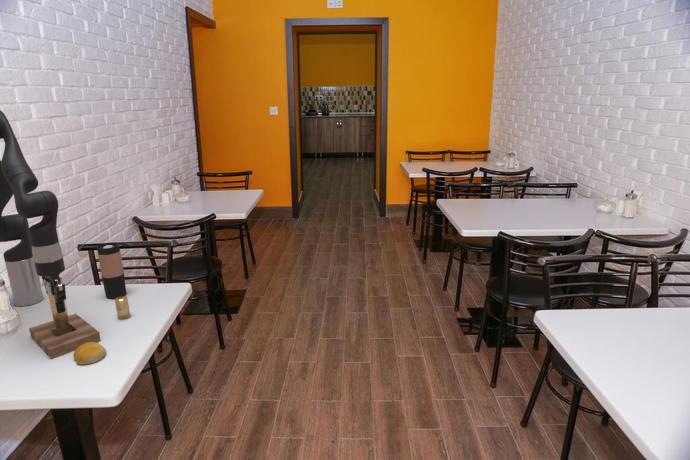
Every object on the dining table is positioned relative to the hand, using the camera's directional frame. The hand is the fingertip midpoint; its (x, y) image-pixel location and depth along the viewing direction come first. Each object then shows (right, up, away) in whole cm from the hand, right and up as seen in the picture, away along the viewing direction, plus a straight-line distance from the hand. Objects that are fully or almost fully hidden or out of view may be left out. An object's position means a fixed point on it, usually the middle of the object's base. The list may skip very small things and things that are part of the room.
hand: (59, 309), depth 153 cm
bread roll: (+14, -13, -8) cm, 20 cm away
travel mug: (+2, 0, +35) cm, 35 cm away
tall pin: (0, -5, +2) cm, 5 cm away
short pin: (+13, -5, +17) cm, 22 cm away
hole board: (0, -10, +3) cm, 10 cm away
